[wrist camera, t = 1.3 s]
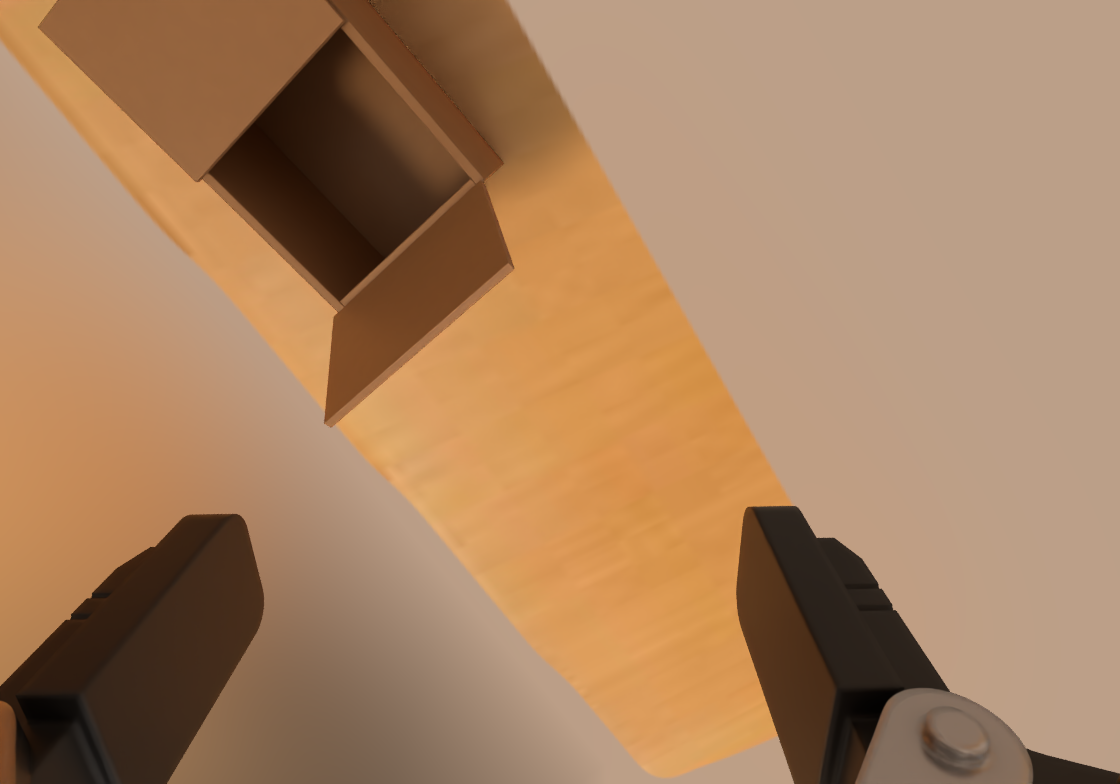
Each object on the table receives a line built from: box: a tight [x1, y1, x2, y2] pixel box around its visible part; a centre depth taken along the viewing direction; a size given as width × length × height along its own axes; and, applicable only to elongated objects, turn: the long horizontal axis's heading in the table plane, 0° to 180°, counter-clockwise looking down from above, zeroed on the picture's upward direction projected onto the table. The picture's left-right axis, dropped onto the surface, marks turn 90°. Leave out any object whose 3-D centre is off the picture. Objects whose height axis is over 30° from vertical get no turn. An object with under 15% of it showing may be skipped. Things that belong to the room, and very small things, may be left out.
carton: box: [38, 0, 504, 312], centre depth 28 cm, size 14×8×9 cm, turn 41°
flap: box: [324, 180, 514, 427], centre depth 23 cm, size 7×8×1 cm
